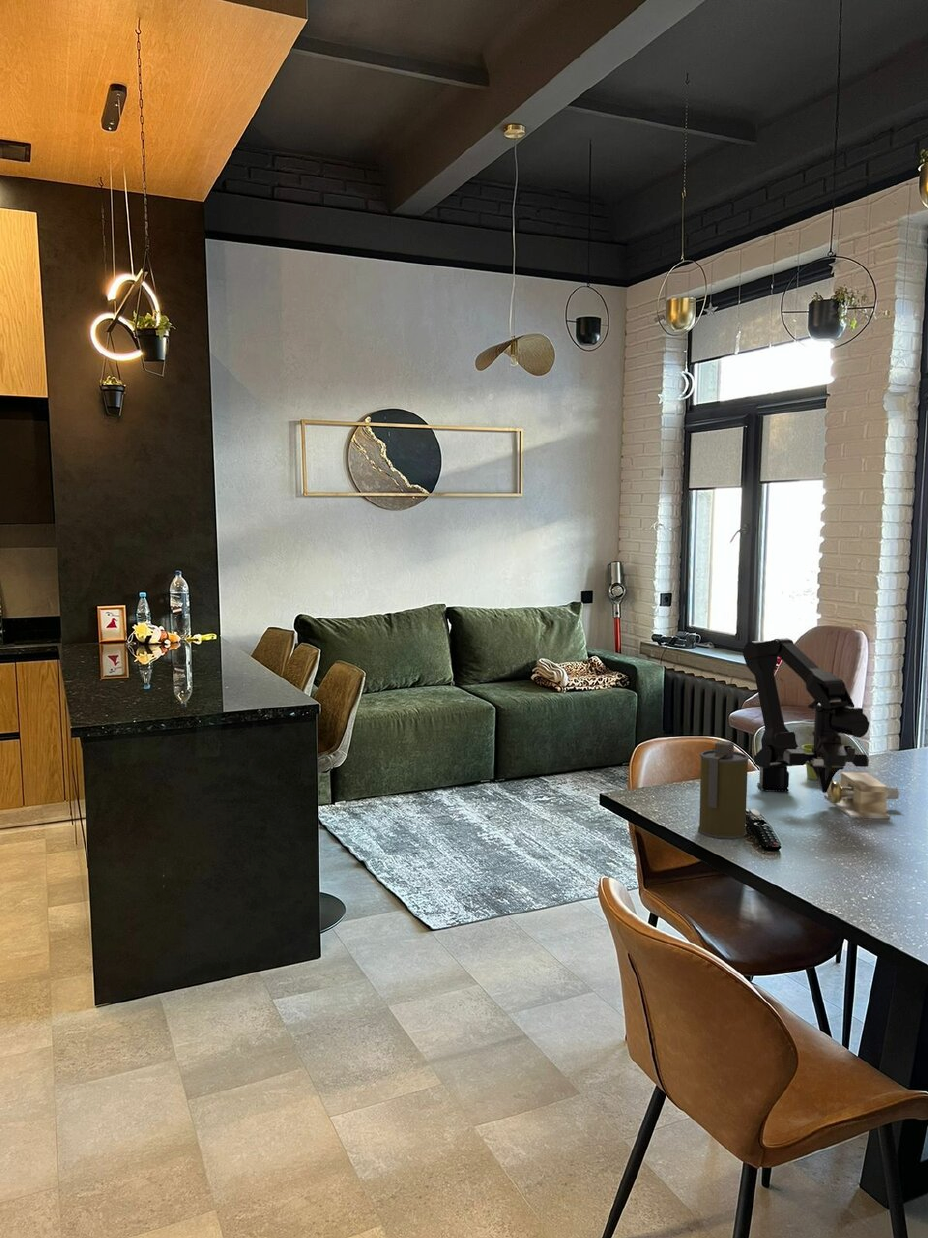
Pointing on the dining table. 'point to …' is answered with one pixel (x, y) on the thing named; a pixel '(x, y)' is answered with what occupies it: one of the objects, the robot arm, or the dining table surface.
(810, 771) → the plant pot
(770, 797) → the dining table surface
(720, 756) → the canister
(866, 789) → the block
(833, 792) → the door knob
